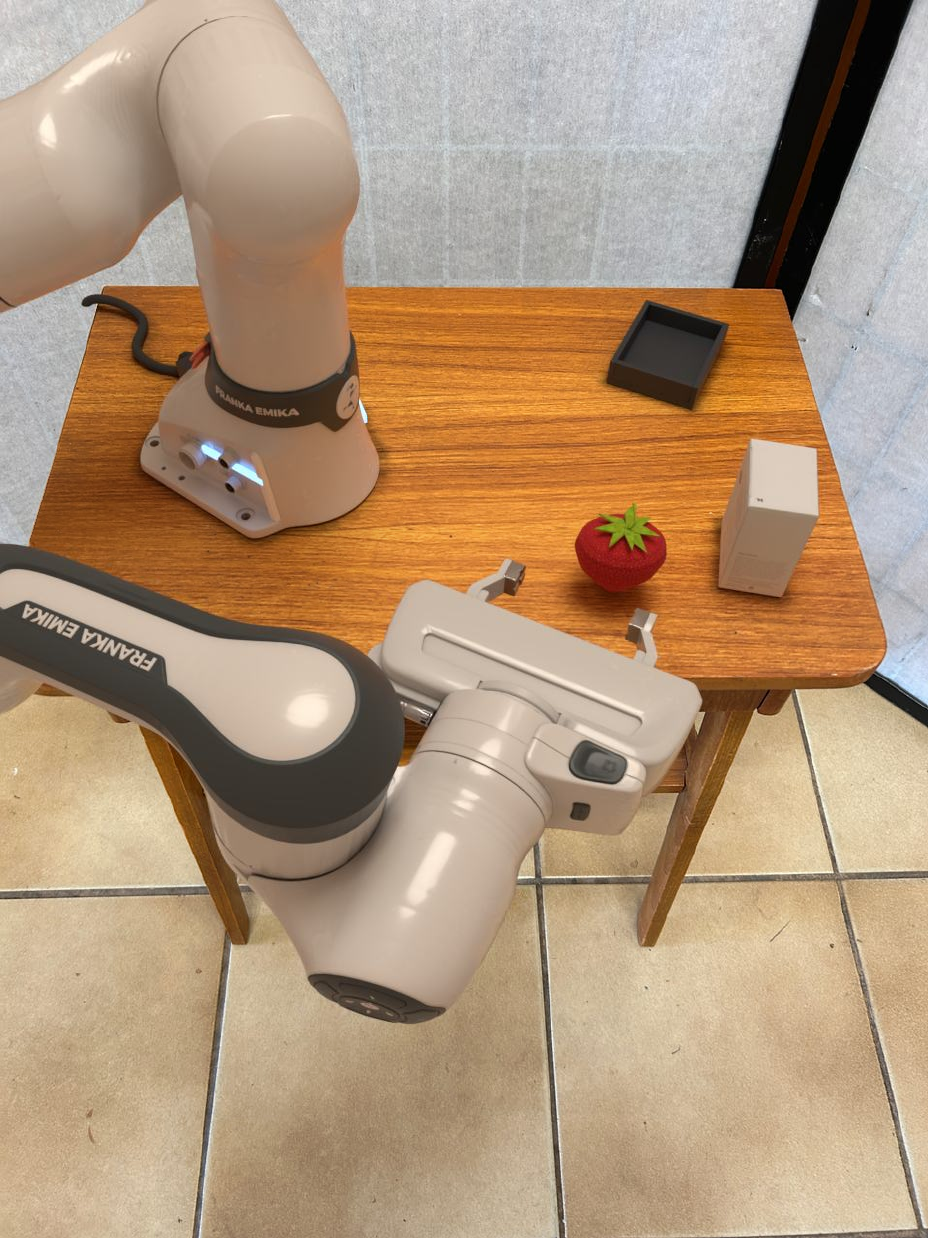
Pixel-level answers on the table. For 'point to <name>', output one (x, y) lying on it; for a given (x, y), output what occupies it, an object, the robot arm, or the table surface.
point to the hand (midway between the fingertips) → (579, 590)
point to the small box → (768, 517)
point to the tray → (667, 354)
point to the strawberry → (620, 550)
